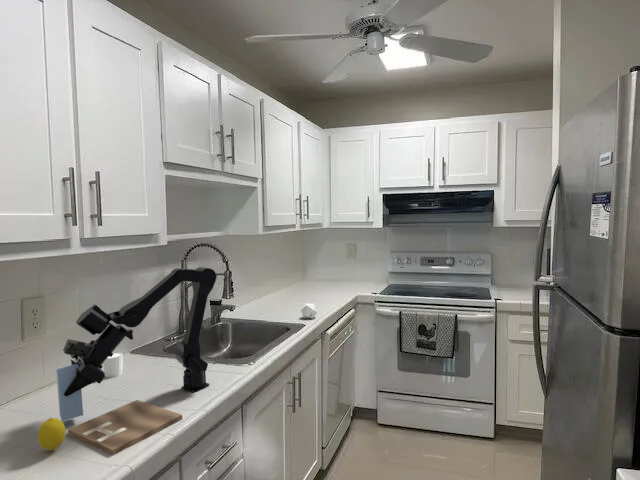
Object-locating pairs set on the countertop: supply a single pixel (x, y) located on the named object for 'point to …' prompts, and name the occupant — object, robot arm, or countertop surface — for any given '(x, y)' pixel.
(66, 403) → the light blue block
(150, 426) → the board
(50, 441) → the lemon
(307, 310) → the die
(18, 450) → the countertop surface
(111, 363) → the shot glass
